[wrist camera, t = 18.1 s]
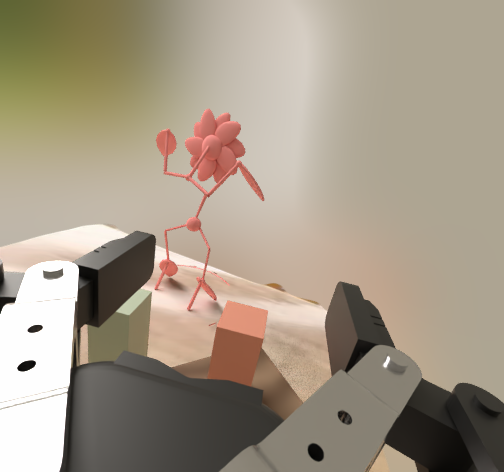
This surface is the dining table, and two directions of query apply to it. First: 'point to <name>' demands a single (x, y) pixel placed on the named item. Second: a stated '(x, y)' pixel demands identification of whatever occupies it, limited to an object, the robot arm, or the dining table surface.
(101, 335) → the olive block
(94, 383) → the robot arm
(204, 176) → the figurine
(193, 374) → the walnut board
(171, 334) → the dining table surface
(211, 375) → the red block
